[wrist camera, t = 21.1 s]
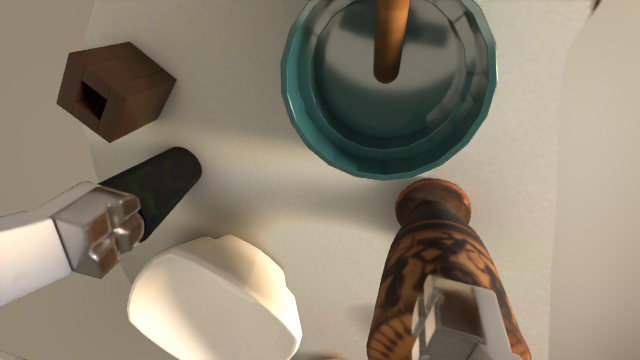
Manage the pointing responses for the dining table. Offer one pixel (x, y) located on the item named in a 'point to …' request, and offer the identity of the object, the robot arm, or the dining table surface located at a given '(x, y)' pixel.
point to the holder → (114, 89)
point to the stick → (389, 38)
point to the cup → (158, 184)
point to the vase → (432, 266)
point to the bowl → (216, 302)
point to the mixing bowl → (388, 86)
